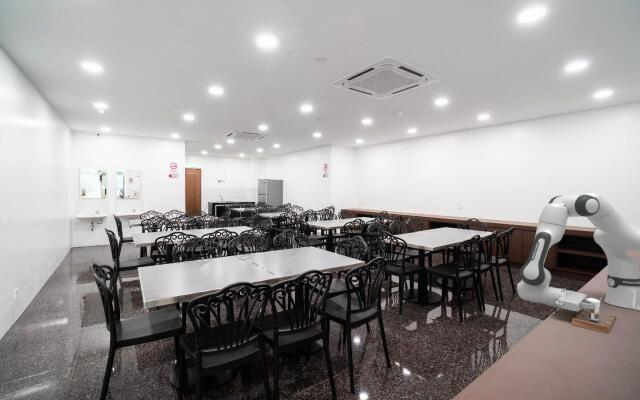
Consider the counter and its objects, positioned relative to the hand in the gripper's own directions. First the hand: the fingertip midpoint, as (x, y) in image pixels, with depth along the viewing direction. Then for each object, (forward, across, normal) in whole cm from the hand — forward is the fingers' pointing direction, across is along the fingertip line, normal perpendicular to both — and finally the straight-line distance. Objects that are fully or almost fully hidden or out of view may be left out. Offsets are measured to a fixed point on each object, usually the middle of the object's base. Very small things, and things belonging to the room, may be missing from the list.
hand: (597, 305), depth 132 cm
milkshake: (-1, 0, +6) cm, 6 cm away
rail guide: (-1, -1, +7) cm, 7 cm away
